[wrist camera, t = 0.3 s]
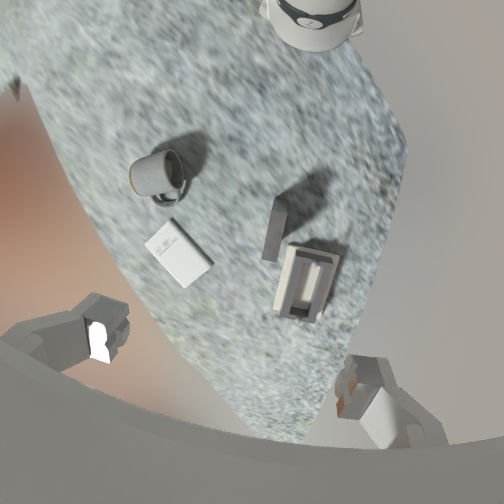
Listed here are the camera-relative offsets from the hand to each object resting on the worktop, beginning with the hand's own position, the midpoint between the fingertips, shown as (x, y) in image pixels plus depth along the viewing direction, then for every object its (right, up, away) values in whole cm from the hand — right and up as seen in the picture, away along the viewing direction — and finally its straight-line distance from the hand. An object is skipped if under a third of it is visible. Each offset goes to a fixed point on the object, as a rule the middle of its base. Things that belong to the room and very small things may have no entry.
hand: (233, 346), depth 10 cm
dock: (+11, -3, +49) cm, 50 cm away
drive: (+5, +9, +45) cm, 47 cm away
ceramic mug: (-16, +17, +45) cm, 51 cm away
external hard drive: (-14, +3, +51) cm, 53 cm away
